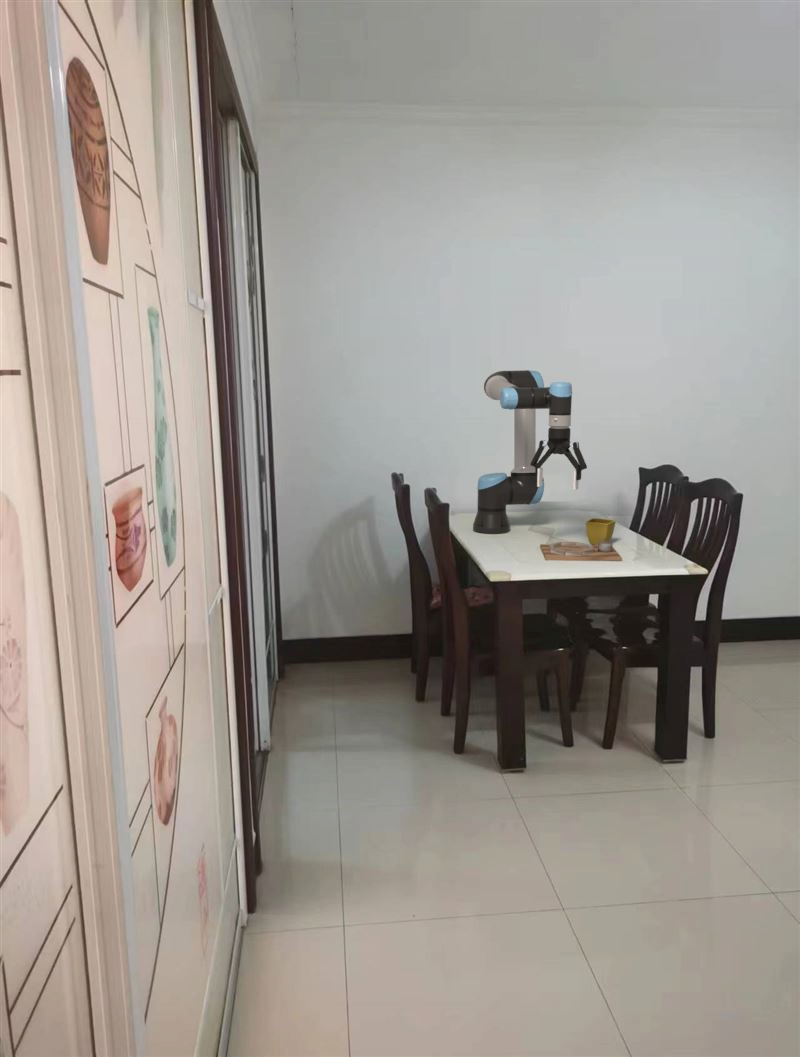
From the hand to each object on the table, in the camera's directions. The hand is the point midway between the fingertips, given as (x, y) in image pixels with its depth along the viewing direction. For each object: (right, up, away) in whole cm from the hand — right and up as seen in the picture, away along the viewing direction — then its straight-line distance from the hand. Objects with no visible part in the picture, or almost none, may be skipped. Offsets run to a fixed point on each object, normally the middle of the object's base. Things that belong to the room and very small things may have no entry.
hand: (557, 487), depth 281 cm
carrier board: (+9, -23, +5) cm, 25 cm away
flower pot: (+20, -20, +21) cm, 35 cm away
